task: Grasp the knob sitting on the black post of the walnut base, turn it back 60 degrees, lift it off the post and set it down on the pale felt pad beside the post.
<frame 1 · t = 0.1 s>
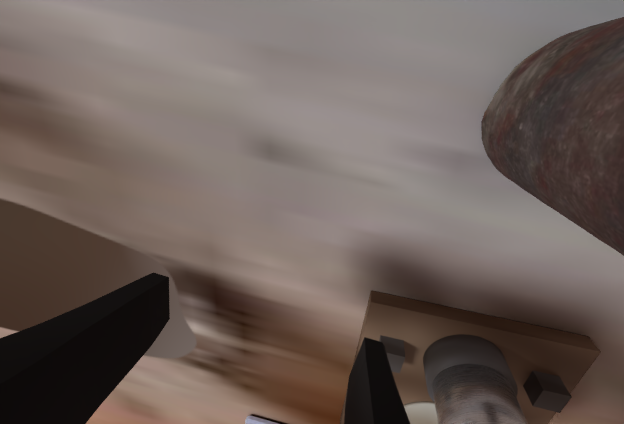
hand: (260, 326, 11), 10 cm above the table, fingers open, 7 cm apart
base board: (442, 384, 23), on the table
candle: (561, 112, 15), on the table
knob: (470, 390, 19), point 3 cm above the table, touching base board
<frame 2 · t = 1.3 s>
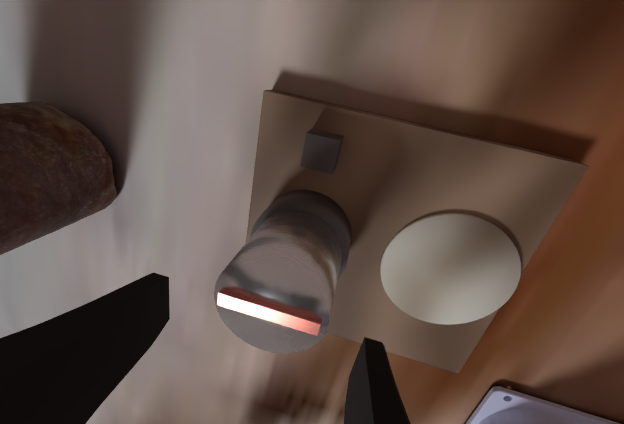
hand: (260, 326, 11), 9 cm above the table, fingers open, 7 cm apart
base board: (374, 241, 18), on the table
candle: (75, 157, 20), on the table
knob: (297, 250, 15), point 3 cm above the table, touching base board
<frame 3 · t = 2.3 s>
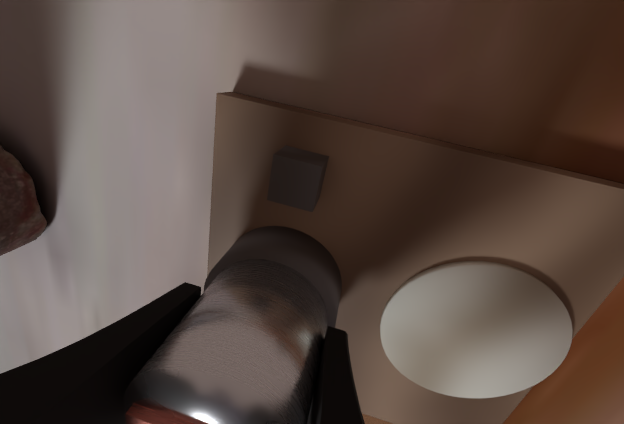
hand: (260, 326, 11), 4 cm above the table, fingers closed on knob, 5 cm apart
base board: (372, 287, 14), on the table
knob: (267, 310, 11), point 3 cm above the table, touching base board, gripper
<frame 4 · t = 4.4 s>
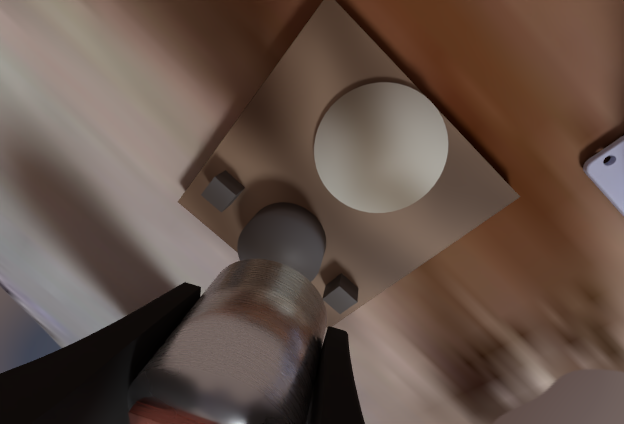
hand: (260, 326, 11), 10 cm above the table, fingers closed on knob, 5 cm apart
base board: (331, 192, 19), on the table
knob: (267, 309, 11), point 9 cm above the table, touching gripper
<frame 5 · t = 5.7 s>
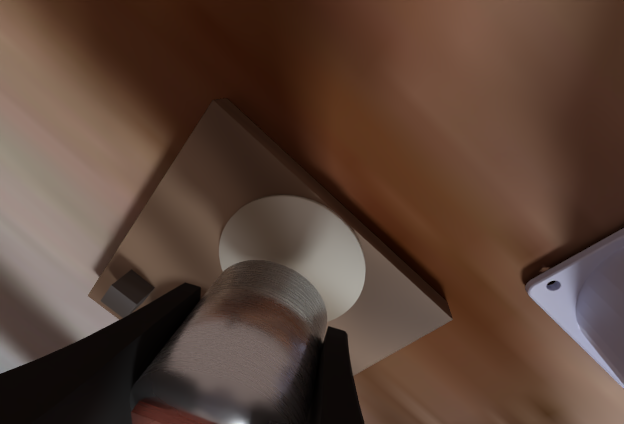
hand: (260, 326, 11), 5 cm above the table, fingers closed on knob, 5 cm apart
base board: (252, 291, 17), on the table
knob: (268, 310, 11), point 4 cm above the table, touching gripper
when the fingers open (3 cm above the table, at t = 6.6 s): knob stays where it is, resting on base board.
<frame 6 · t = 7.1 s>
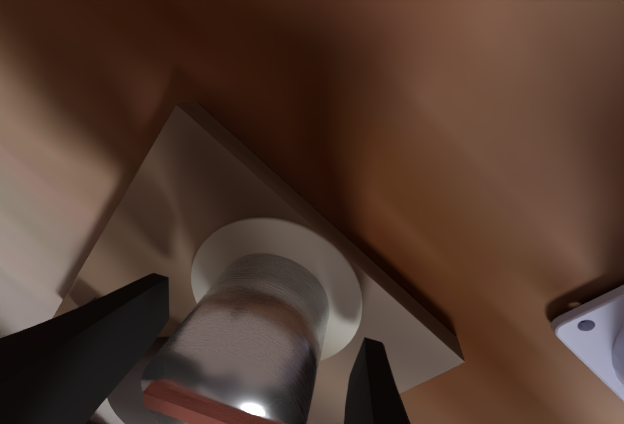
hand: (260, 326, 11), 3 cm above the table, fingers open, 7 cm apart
base board: (234, 321, 15), on the table
knob: (272, 303, 12), point 2 cm above the table, touching base board
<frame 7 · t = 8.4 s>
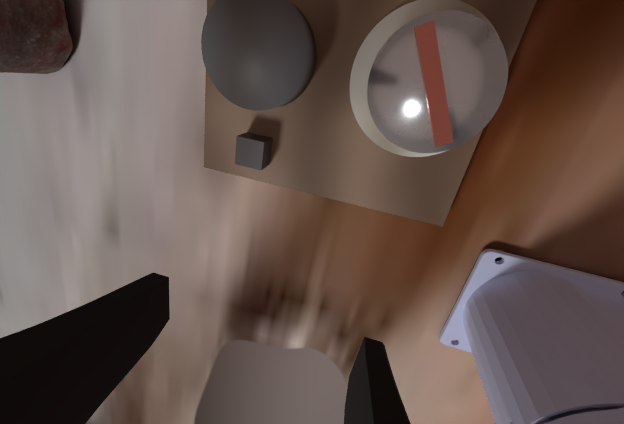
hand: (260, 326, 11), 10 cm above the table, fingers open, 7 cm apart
base board: (345, 70, 16), on the table
candle: (30, 9, 19), on the table
knob: (419, 86, 14), point 2 cm above the table, touching base board
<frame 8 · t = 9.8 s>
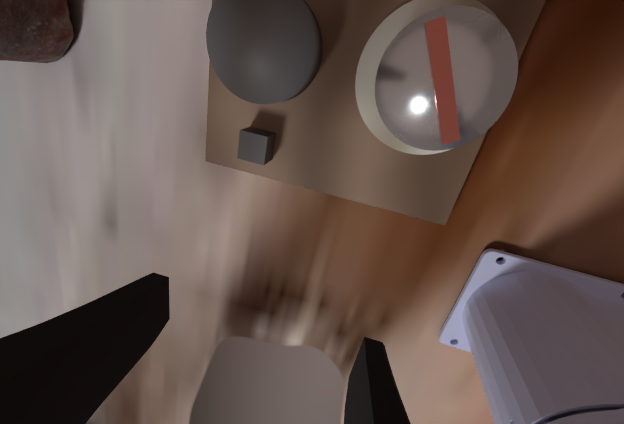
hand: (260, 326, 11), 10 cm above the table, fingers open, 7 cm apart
base board: (350, 65, 16), on the table
knob: (425, 83, 14), point 2 cm above the table, touching base board
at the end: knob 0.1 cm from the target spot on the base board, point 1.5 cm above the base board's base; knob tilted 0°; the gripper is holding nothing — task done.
